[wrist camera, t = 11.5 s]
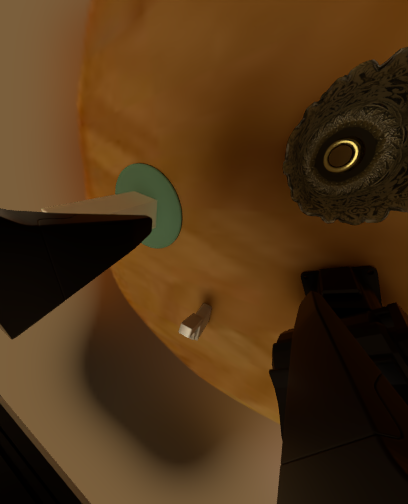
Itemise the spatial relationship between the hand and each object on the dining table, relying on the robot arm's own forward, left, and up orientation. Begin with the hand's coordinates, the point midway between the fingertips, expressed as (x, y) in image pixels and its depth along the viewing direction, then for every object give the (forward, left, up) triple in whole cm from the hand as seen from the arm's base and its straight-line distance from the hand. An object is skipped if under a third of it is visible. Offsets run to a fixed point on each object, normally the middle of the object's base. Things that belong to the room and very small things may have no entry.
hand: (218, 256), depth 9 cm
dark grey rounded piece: (+2, -7, -13) cm, 15 cm away
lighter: (-14, +14, -13) cm, 24 cm away
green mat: (+5, +17, -13) cm, 22 cm away
